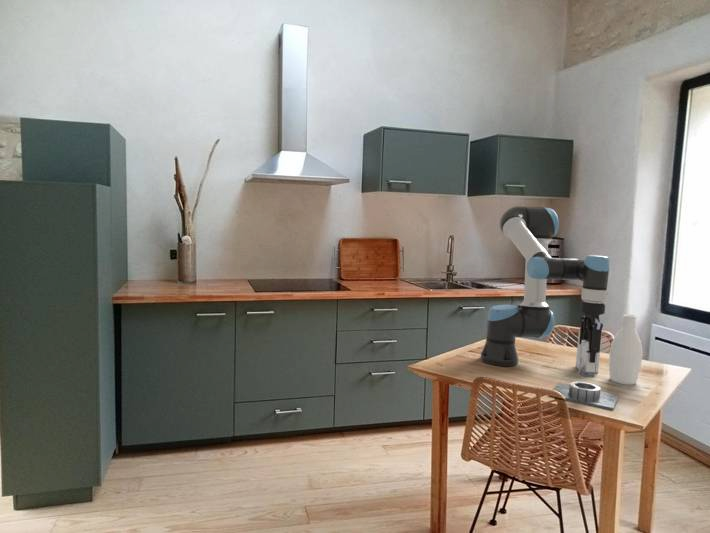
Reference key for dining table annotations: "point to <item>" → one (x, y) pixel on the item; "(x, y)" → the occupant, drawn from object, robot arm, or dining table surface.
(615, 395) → the flange plate
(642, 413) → the dining table surface
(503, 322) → the robot arm
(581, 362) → the block
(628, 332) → the bottle
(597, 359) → the milk carton
